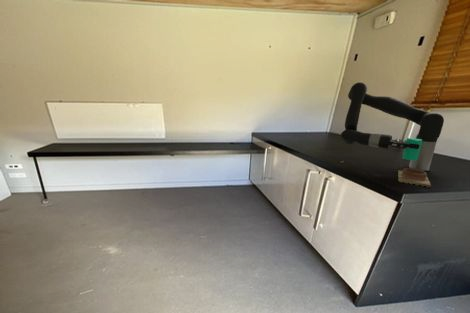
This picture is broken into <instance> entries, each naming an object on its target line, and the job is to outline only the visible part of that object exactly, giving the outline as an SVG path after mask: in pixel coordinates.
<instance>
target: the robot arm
mask: <svg viewBox="0 0 470 313" xmlns="http://www.w3.org/2000/svg"><path fill="white" fill-rule="evenodd" d="M367 91H368V86H367V84H365V83H364V82H356V83H354V84H353V85H352V86H351V88H350V89H349V92H348V94H347V98H348V99H349V100H350V103H349V104H350V105H349V106H348V107H349V108H348V110H347V113H346V116H345V120H344V122H345V123H344V128H345V129H344V130H343V131H341V134H340V137H341V139H342V141H343V142H344V143H345V144H346V145H352V144H354V143H358V144H359V145H362V146H368V147H373V148H379V149H385V150H386V149H387V150H389V149H390V147H392V148H399V149H405V148H414V149H419V146H420V145H419V144H410V143H406V140H407V139H400V138H395V139H393V136H392V135H390V134H382V133H369V132H361V131H359V130H358V124H359V119H360V113H361V109H362V108H361V107H362V105H365V106H367V107H370V108H373V109H376V110H377V111H381V112H382V113H386V114H388V115H391V116H394V117H397V118H401V119H405V120H407V121H410V122H413V123H414V124H417V125H419V131H418V133H417V134H416V135H415V139H422V144H421V147H420V151H419V155H418V159H417V160H409V165H408V168H409V169H417V170H421V171H424V172H426V171H429V170H430V167H431V165H432V164H431V163H432V160H433V156H434V153H435V150H436V144H437V142H438V139H439V138H440V135H441V133H442V130H443V126H444V122H445V120H444V117H443V115H441V114H440V113H437V112H430V111H425V110H422V109H419V108H416V107H414V106H412V105H410V104H409V103H407V102H405V101H403V100H400V99H398V98H394V97H392V96H377V95H376V96H375V95H371V94H368V92H367Z"/></svg>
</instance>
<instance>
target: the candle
mask: <svg viewBox="0 0 470 313" xmlns="http://www.w3.org/2000/svg"><path fill="white" fill-rule="evenodd" d="M405 140H406V143H410V144H419V145H420V146H419V149H414V148H403V154H402V159H404V160H408V161H410V160H417V159H418V155H419V151H420V147H421V144H422V139H416V138H415V137H414V138H411V137H406V139H405Z"/></svg>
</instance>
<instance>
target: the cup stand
mask: <svg viewBox="0 0 470 313" xmlns="http://www.w3.org/2000/svg"><path fill="white" fill-rule="evenodd" d="M397 179H398V180H397V181H399V183H403V182H404V183H405V184H408V183H409V184H410V185H413V184H415V185H414V186H419V185H421V186H420V187H424V186H426V187H425V188H429V187H430V188H432V185H431V181H430V180H429V177H428V174H427V172H426V171H422V170H417V169H412V168H409V167H407V168H403V169H402V170H400V169H399V170H398V171H397ZM409 184H408V185H409Z"/></svg>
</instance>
